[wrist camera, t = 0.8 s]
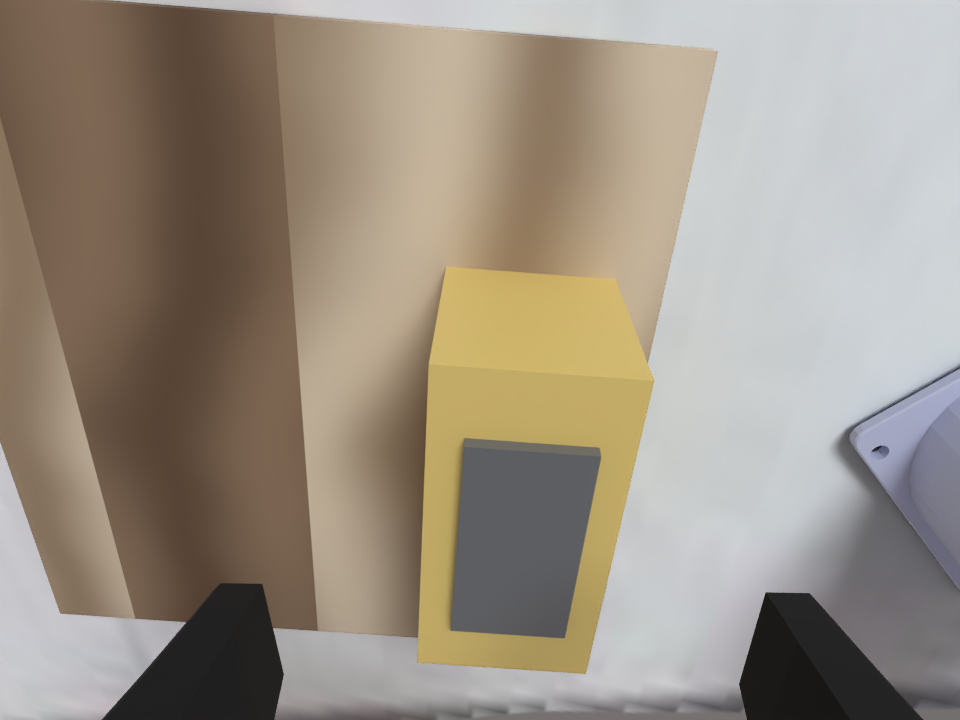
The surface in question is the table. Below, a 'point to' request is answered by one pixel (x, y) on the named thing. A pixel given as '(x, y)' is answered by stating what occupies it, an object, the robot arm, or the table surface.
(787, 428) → the table surface
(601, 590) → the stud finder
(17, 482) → the subfloor board
